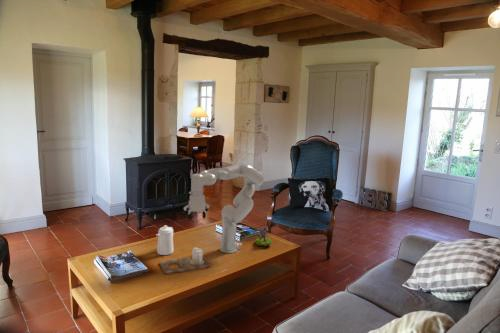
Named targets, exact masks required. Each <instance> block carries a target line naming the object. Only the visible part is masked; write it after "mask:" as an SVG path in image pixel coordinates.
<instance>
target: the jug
mask: <svg viewBox="0 0 500 333" xmlns="http://www.w3.org/2000/svg"><path fill="white" fill-rule="evenodd" d="M191 257H192V263H194V264H200V263H202V262H203V257H204V250H203V248H200V247H197V246H196V247H193V248H192V250H191Z"/></svg>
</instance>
